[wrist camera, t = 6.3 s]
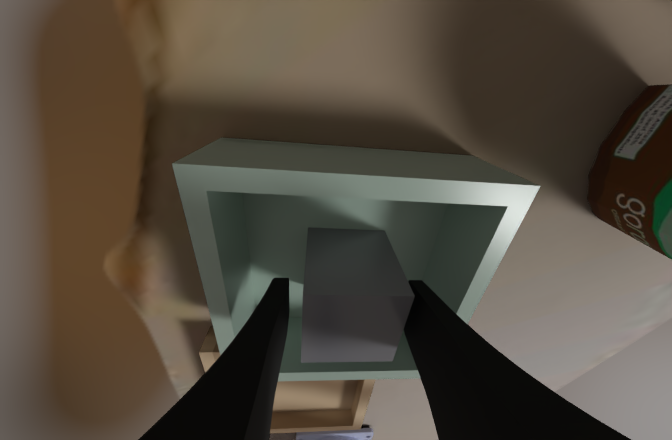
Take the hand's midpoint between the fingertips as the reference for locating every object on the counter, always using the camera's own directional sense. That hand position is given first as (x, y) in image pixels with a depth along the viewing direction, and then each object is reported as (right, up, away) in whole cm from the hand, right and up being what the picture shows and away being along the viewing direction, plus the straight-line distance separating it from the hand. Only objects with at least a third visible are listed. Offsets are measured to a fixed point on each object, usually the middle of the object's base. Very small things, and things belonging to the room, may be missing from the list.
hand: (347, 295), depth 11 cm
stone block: (0, +1, +3) cm, 3 cm away
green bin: (0, +2, +3) cm, 3 cm away
